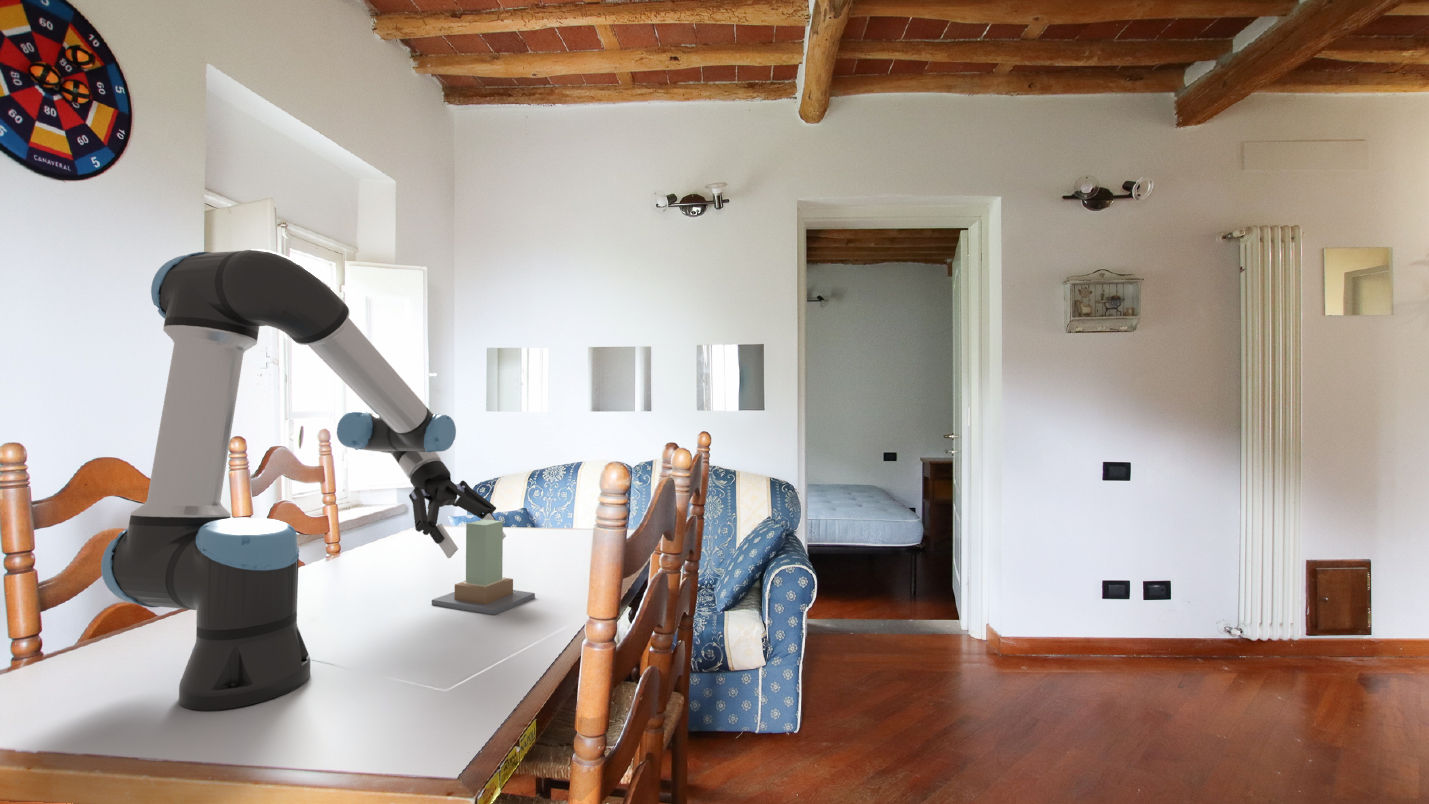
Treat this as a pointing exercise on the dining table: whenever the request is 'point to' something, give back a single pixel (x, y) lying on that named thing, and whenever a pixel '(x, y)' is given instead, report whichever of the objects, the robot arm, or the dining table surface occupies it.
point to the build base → (487, 607)
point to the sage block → (484, 551)
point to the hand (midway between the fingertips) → (478, 546)
